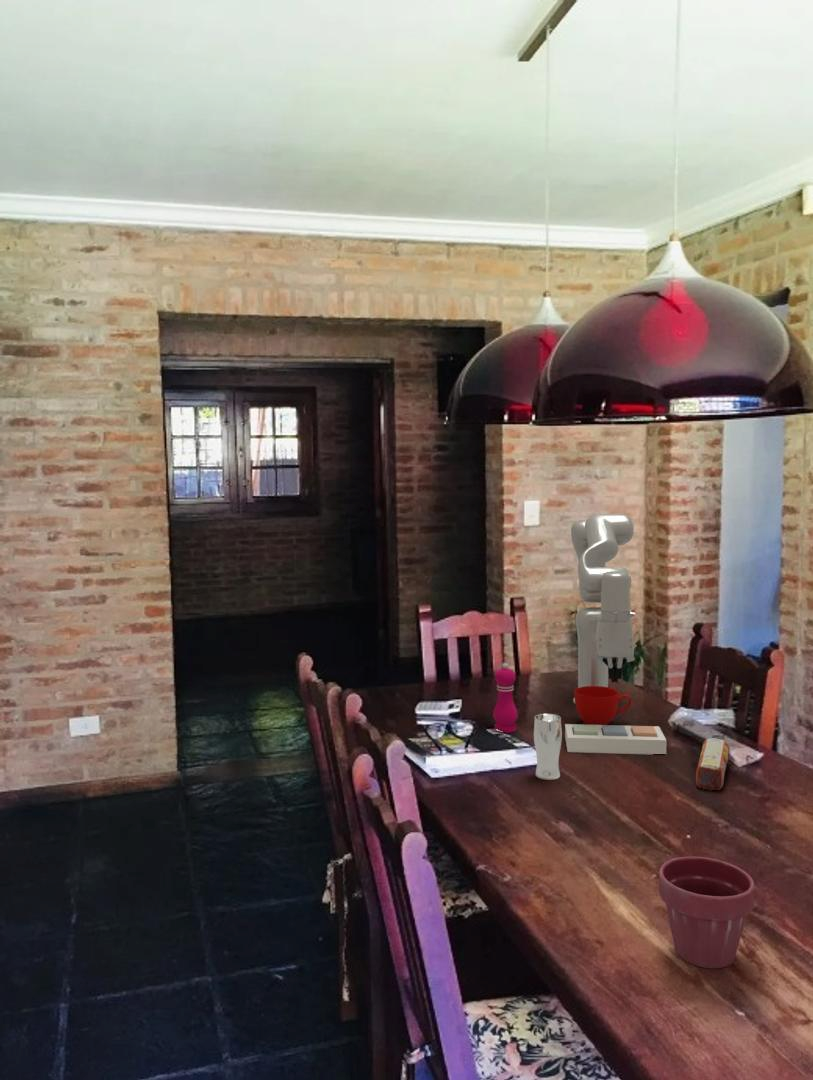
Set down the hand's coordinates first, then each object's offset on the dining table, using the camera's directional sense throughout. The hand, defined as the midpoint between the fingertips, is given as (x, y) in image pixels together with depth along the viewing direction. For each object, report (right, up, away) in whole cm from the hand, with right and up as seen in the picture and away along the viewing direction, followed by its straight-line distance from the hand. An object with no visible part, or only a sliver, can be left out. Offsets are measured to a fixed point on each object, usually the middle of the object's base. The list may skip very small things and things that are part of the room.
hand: (614, 681), depth 233 cm
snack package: (+19, -20, -24) cm, 36 cm away
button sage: (-8, -16, 0) cm, 18 cm away
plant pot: (-10, -27, -99) cm, 103 cm away
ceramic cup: (+1, -16, +19) cm, 25 cm away
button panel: (0, -18, -1) cm, 18 cm away
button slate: (0, -15, -1) cm, 16 cm away
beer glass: (-22, -20, -22) cm, 37 cm away
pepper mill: (-28, -17, +15) cm, 36 cm away
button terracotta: (+8, -15, -2) cm, 17 cm away
